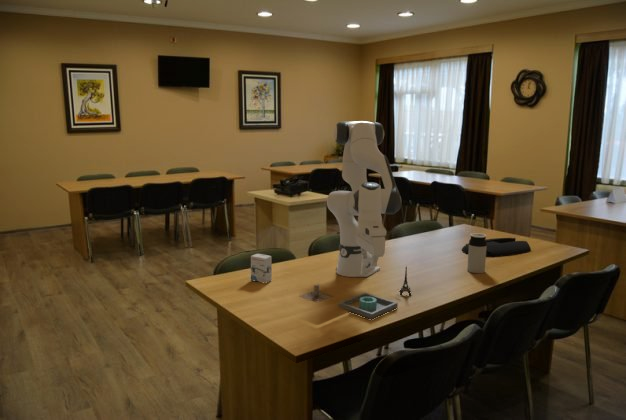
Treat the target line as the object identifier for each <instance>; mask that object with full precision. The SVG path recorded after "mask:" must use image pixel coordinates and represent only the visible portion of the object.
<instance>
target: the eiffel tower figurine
mask: <svg viewBox="0 0 626 420" xmlns="http://www.w3.org/2000/svg"><path fill="white" fill-rule="evenodd" d="M407 267H408V266H405V271H404V272H405V273H404V280H403V283H402V284H403V285H401V287H400V289H401V290H400V291H399V292H400V295H402V293H403V292H408V293H409V296H408V297H411V296H412V297H413V294H412V295H411V293H410V292H412V291H411V289H409V287H410V286H409V284H408V273H407V272H408V270H407Z"/></svg>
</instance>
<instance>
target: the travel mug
mask: <svg viewBox="0 0 626 420" xmlns="http://www.w3.org/2000/svg"><path fill="white" fill-rule="evenodd" d="M469 236H470V239H469V241H468V243H469V252H468V254H467V255H468V256H467V271H468V272H470V273H471V274H483V273H485V272H486V259H487V257H486V246H487V242H486V238H487V234H485V233H481V232H480V233H478V232H472V233H470V234H469Z"/></svg>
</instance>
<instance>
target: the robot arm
mask: <svg viewBox="0 0 626 420" xmlns="http://www.w3.org/2000/svg"><path fill="white" fill-rule="evenodd" d="M333 137H334V140H335V143H336V144H338V145H340V146H343V153H342V164H341V165H342V168H341V177H342V180H343V181H345V182H346V183H347V184H349V186H350V188H351V190H350V191H349V190H335V191H331V192H330V193H329V194H328V196H327V197H326V207H327V209H328V210H329V211H330V212H331V213H332V214H333V216H334V217H335V218H336V219H335V220H336V222H337V223H338V227H339V235H340V236H339V239H340V241H339V242H340V243H339V245H338V250H339V251H338V257H337V266H336V267H335V270H336V274H338V275H339V276H343V277H350V278H356V277H357V278H358V277H359V278H367V277H369V276H371V275H372V274H374V273H375V274H376V272H378V271H380V270H381V266H379V265H378V260H379V258H382V257H383V256H384V255H385V251H386V236H387V229H386V228H385V225H384V224H383V217H382V214H383V215H392V216H393V215H395V214H396V213H398V212H399V210H401V208H402V197H401V194H400V191H399V189H398V186H397V184H396V181H395V177H394V175H393V171H392V167H391V165H390V162H389V159H388V157H387V156H386V155H385V154H383V153H382V152H381V151H380V150H379V147H378V146H379V145H381V144H382V143H383V141H384V137H385V130H384V126H383V125H382V123H380V122H376V121H373V122H371V121H366V120H358V121H356V120H355V121H354V120H353V121H352V120H351V121H345V120H344V121H338V123H336V124H335V127H334V130H333ZM367 169H368V170H371V171H374V172H376V173H378V174H379V175H380V177H381V181H382V183H383V188H382V187H381V185H380V184H378V183H377V182H372V181H371V182H368V178H367ZM355 216H356V217H357V219H356V218H355Z"/></svg>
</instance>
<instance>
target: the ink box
mask: <svg viewBox="0 0 626 420" xmlns="http://www.w3.org/2000/svg"><path fill="white" fill-rule="evenodd" d="M272 258H273V257H272V256H271V255H267V254H263V253H255V254H252V255H251V256H250V281H251V280H255V281H259V282H264V283H266V282H269V281H271V280H272V279H273V278H272V275H273V274H272V266H273V264H272ZM255 281H254V282H255ZM259 282H258V283H259ZM271 282H272V281H271ZM264 283H263V284H264ZM269 283H270V282H269ZM266 284H267V283H266Z"/></svg>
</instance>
